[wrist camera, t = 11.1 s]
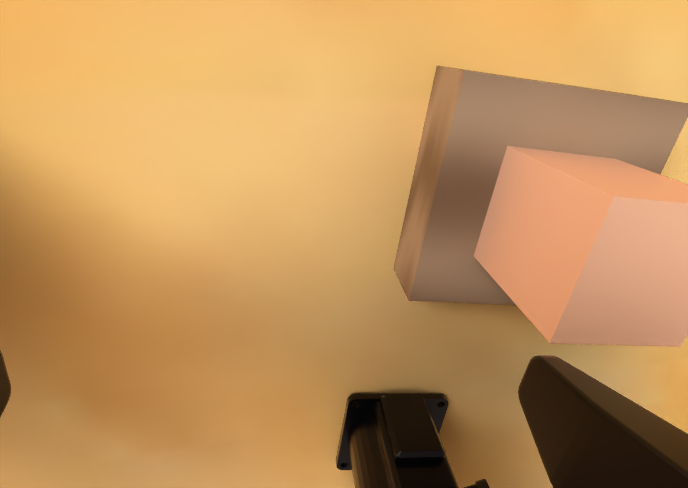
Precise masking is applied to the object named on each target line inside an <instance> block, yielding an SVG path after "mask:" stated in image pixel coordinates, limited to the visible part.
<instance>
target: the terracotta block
mask: <svg viewBox="0 0 688 488" xmlns="http://www.w3.org/2000/svg"><path fill="white" fill-rule="evenodd" d="M474 257H475V259H476V260H477V261H478V262H479V263H480V264H481V265H482V266H483V268H484V269H485V270H486V271H487V272H488V273H489V274H490V276H491V277H492V278H493V279H494V280H495V281H496V282H497V284H498V285H499V286H500V287H501V288H502V289H503V290H504V292H505V293H506V294H507V295H508V296H509V297H510V298H511V300H512V301H513V302H514V303H515V304H516V305H517V306H518V307H519V309H520V310H521V311H522V312H523V313H524V314H525V315H526V317H527V318H528V319H529V320H530V321H531V322H532V323H533V325H534V326H535V327H536V328H537V329H538V330H539V331H540V333H541V334H542V335H543V336H544V337H545V338H546V339H547V340H548V342H549V343H561V344H597V345H633V346H669V347H680V346H681V345H682V343H683V341H684V340H685V338H686V336H687V335H688V184H685V183H682V182H679V181H676V180H674V179H671V178H668V177H665V176H662V175H660V174H657V173H654V172H651V171H648V170H645V169H643V168H640V167H637V166H634V165H631V164H629V163H626V162H623V161H620V160H617V159H613V158H605V157H596V156H588V155H579V154H571V153H563V152H554V151H546V150H538V149H529V148H521V147H513V146H507V149H506V152H505V155H504V158H503V162H502V165H501V168H500V171H499V175H498V178H497V181H496V184H495V188H494V191H493V194H492V198H491V201H490V204H489V207H488V211H487V214H486V217H485V220H484V224H483V227H482V230H481V233H480V237H479V240H478V243H477V247H476V250H475V253H474Z"/></svg>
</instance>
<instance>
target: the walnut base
mask: <svg viewBox="0 0 688 488" xmlns="http://www.w3.org/2000/svg"><path fill="white" fill-rule="evenodd" d="M687 117H688V103H682V102H676V101H669V100H663V99H656V98H650V97H644V96H637V95H630V94H624V93H617V92H610V91H604V90H597V89H590V88H583V87H577V86H570V85H563V84H557V83H550V82H543V81H536V80H530V79H523V78H516V77H509V76H503V75H496V74H489V73H483V72H476V71H469V70H462V69H456V68H449V67H442V66H437V68H436V73H435V77H434V82H433V87H432V92H431V96H430V101H429V106H428V110H427V115H426V120H425V124H424V129H423V134H422V138H421V143H420V148H419V153H418V157H417V162H416V167H415V171H414V176H413V181H412V185H411V190H410V195H409V199H408V204H407V209H406V214H405V218H404V223H403V228H402V232H401V237H400V242H399V246H398V251H397V256H396V260H395V265H394V271H395V273H396V275H397V277H398V279H399V281H400V283H401V285H402V287H403V289H404V291H405V293H406V296H407V298H408V300H409V301H430V302H454V303H477V304H501V305H516V304H515V303H514V302H513V301H512V300H511V298H510V297H509V296H508V295H507V294H506V293H505V292H504V290H503V289H502V288H501V287H500V286H499V285H498V284H497V282H496V281H495V280H494V279H493V278H492V277H491V276H490V274H489V273H488V272H487V271H486V270H485V269H484V268H483V266H482V265H481V264H480V263H479V262H478V261H477V260H476V259H475V257H474V253H475V250H476V247H477V243H478V240H479V237H480V233H481V230H482V227H483V224H484V220H485V217H486V214H487V211H488V207H489V204H490V201H491V198H492V194H493V191H494V188H495V184H496V181H497V178H498V175H499V171H500V168H501V165H502V162H503V158H504V155H505V152H506V149H507V146H513V147H521V148H529V149H538V150H546V151H554V152H563V153H571V154H579V155H588V156H596V157H605V158H613V159H617V160H620V161H623V162H626V163H629V164H631V165H634V166H637V167H640V168H643V169H645V170H648V171H651V172H654V173H657V174H661V172H662V170H663V168H664V166H665V163H666V161H667V159H668V157H669V155H670V153H671V151H672V149H673V147H674V145H675V142H676V140H677V138H678V136H679V134H680V132H681V130H682V128H683V126H684V123H685V121H686V119H687Z"/></svg>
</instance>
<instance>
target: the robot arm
mask: <svg viewBox="0 0 688 488" xmlns="http://www.w3.org/2000/svg"><path fill="white" fill-rule="evenodd" d="M10 393H11V384H10V380H9V377H8V373H7V370H6V366H5V362H4V359H3V355H2V352H1V350H0V417H1V415H2V413H3V411H4V409H5V407H6V405H7V403H8V401H9V398H10ZM518 395H519V400H520V403H521V406H522V409H523V411H524V414H525V417H526V419H527V422H528V425H529V427H530V430H531V433H532V435H533V438H534V440H535V443H536V446H537V448H538V451H539V454H540V456H541V459H542V462H543V464H544V467H545V469H546V472H547V474H548V477H549V479H550V481H551V484H552V486H553V488H688V434H687V433H685V432H684V431H682V430H680V429H678V428H677V427H675V426H673V425H672V424H670V423H668V422H667V421H665V420H663V419H662V418H660V417H658V416H656V415H655V414H653V413H651V412H650V411H648V410H646V409H645V408H643V407H641V406H640V405H638V404H636V403H634V402H633V401H631V400H629V399H628V398H626V397H624V396H623V395H621V394H619V393H617V392H616V391H614V390H612V389H611V388H609V387H607V386H606V385H604V384H602V383H601V382H599V381H597V380H595V379H594V378H592V377H590V376H589V375H587V374H585V373H584V372H582V371H580V370H579V369H577V368H575V367H573V366H572V365H570V364H568V363H567V362H565V361H563V360H562V359H560V358H558V357H555V356H534V357H533V358H532V359H531V360H530V362H529V364H528V367H527V369H526V371H525V374H524V376H523V378H522V381H521V383H520V386H519V391H518ZM354 402H357V403H354ZM447 407H448V400H447V398H446V396H445V395H444V394H353V395H351V396H349V397H348V399H347V404H346V409H345V414H344V420H343V425H342V430H341V436H340V441H339V446H338V452H337V457H336V464H337V468H338V469H340V470H352V471H353V477H354V484H355V488H459V487H458V484H457V482H456V479H455V477H454V474H453V471H452V469H451V466H450V464H449V461H448V459H447V456H446V453H445V449H444V447H443V444H442V442H441V439H440V437H439V431H440V428H441V425H442V422H443V419H444V416H445V413H446V410H447ZM475 483H476V484H474V485H471V486H467V487H464V488H490V487H489V485H488V483H487V481H486V480H485V479H483V480H479V481H476V482H475Z"/></svg>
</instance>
